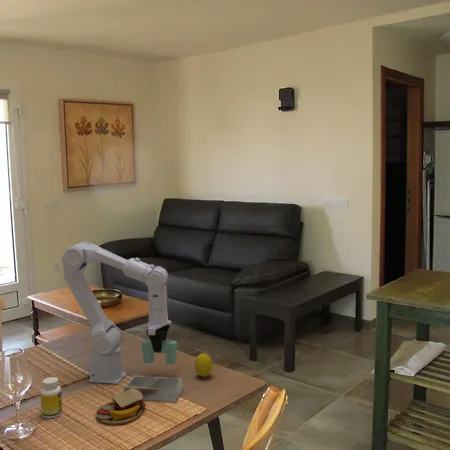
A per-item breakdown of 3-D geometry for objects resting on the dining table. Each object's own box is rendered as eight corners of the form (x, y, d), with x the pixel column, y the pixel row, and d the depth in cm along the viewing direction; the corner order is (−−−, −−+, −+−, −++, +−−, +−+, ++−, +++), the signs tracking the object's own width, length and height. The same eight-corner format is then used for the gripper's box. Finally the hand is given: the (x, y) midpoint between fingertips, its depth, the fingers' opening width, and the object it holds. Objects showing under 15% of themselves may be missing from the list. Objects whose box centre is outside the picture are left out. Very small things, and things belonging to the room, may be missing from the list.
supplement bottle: (62, 417, 141) (60, 382, 139) (41, 420, 139) (38, 385, 138) (62, 408, 146) (60, 374, 145) (42, 411, 144) (39, 377, 143)
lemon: (210, 381, 161) (209, 356, 160) (193, 380, 163) (192, 355, 161) (214, 374, 167) (213, 350, 166) (197, 372, 168) (196, 349, 167)
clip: (142, 362, 162) (141, 342, 161) (145, 359, 165) (144, 339, 164) (175, 364, 160) (174, 344, 159) (177, 360, 163) (176, 340, 162)
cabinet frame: (124, 398, 151) (123, 387, 150) (133, 386, 159) (133, 375, 158) (175, 402, 148) (175, 390, 148) (183, 389, 156) (182, 378, 156)
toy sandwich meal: (91, 410, 145) (90, 393, 144) (138, 399, 151) (138, 383, 150) (101, 431, 134) (100, 413, 133) (152, 419, 140) (151, 402, 139)
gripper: (163, 314, 152) (164, 359, 154) (176, 300, 166) (177, 341, 168) (140, 313, 153) (142, 358, 155) (155, 300, 167) (156, 340, 169)
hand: (159, 349), depth 162 cm, fingers closed on clip, 3 cm apart
